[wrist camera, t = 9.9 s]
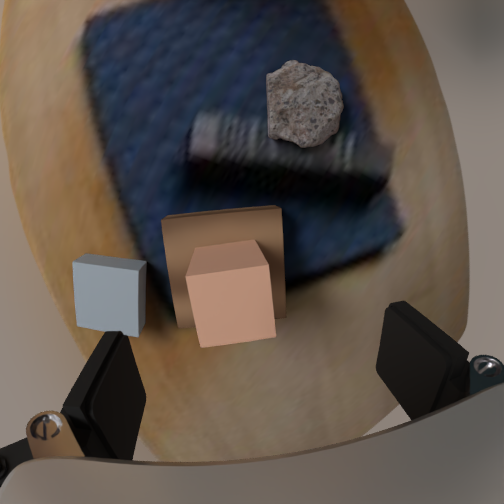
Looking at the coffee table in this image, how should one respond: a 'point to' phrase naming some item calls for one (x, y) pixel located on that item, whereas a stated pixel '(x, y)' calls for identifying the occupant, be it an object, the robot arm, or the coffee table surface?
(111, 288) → the slate block
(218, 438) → the coffee table surface
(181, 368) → the coffee table surface
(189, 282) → the terracotta block
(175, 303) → the walnut block
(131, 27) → the coffee table surface
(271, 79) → the rock
